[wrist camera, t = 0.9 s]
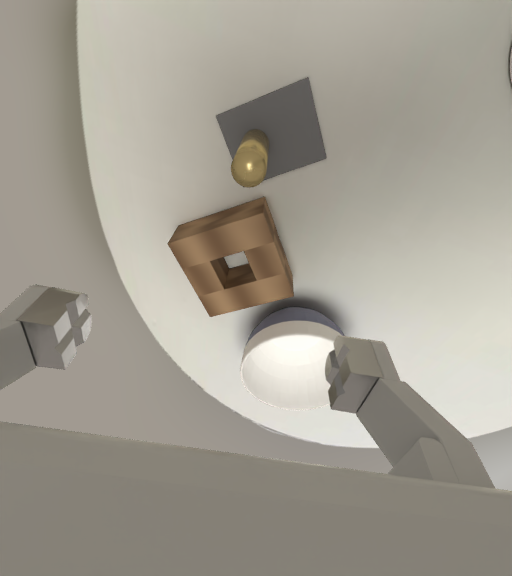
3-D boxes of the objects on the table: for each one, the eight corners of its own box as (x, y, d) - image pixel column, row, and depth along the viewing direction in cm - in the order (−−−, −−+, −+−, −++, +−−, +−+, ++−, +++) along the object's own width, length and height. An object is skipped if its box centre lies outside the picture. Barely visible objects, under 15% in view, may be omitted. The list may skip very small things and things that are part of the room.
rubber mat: (308, 77, 31) (308, 77, 31) (326, 157, 35) (326, 158, 35) (216, 115, 34) (215, 116, 33) (243, 186, 38) (243, 187, 38)
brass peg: (263, 124, 34) (259, 145, 25) (272, 153, 35) (271, 180, 27) (237, 135, 34) (225, 158, 26) (247, 162, 36) (238, 191, 28)
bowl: (276, 271, 45) (276, 316, 37) (366, 315, 48) (383, 363, 41) (229, 340, 53) (221, 388, 46) (309, 372, 57) (314, 422, 49)
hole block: (264, 196, 38) (263, 212, 34) (292, 275, 45) (293, 296, 41) (178, 225, 41) (167, 243, 37) (215, 295, 48) (210, 317, 44)
